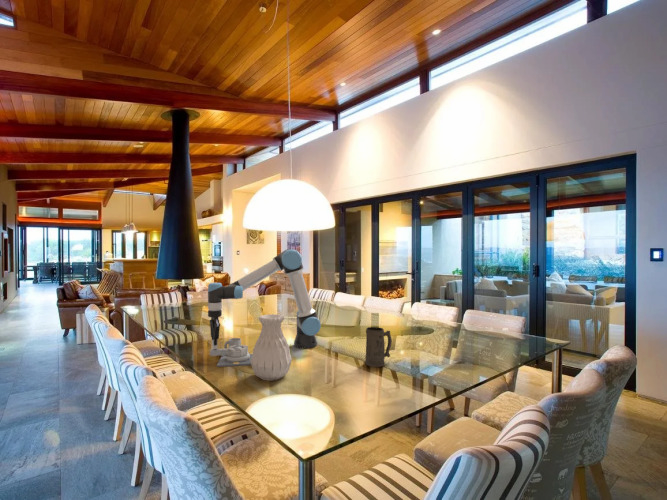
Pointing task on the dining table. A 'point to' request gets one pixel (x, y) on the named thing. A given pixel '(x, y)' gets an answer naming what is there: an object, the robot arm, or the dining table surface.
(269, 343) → the vase
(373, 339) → the beer stein
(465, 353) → the dining table surface
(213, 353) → the grey lumpy block
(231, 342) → the cup
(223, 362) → the housing
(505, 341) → the dining table surface
